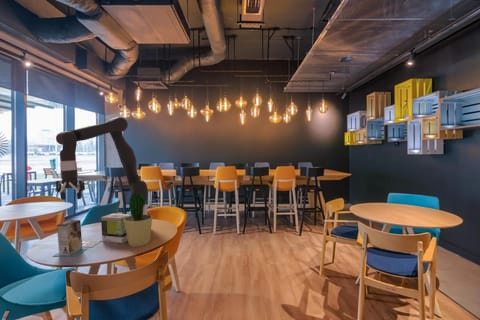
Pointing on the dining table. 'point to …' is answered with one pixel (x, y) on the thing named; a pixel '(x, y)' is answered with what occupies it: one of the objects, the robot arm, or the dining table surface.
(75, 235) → the coffee box
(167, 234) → the dining table surface
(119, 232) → the tea box
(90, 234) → the dining table surface
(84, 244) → the plate
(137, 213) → the potted cactus
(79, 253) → the mat
